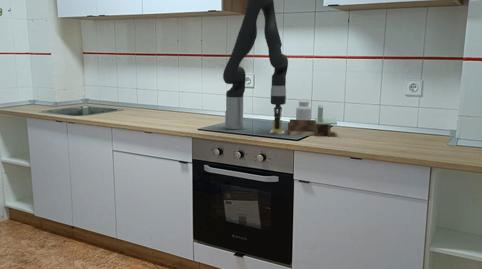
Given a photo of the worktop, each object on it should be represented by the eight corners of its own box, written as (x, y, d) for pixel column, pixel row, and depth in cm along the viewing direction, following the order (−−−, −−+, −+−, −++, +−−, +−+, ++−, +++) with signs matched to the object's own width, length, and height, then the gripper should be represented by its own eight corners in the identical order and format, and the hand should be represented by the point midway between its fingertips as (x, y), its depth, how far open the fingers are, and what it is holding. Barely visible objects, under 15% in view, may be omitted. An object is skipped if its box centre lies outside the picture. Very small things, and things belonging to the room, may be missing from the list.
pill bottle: (299, 127, 252) (300, 100, 250) (312, 128, 248) (313, 101, 246) (293, 129, 246) (294, 101, 243) (307, 130, 242) (308, 102, 239)
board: (268, 136, 223) (268, 122, 222) (270, 131, 236) (270, 118, 235) (330, 138, 219) (330, 124, 218) (328, 134, 232) (329, 120, 231)
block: (281, 132, 226) (281, 121, 225) (272, 132, 227) (272, 121, 226) (282, 130, 231) (282, 120, 230) (273, 130, 231) (273, 119, 230)
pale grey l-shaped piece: (316, 124, 219) (316, 108, 218) (315, 120, 232) (316, 104, 230) (337, 124, 218) (337, 108, 216) (335, 120, 230) (336, 105, 229)
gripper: (285, 96, 218) (284, 130, 221) (286, 93, 232) (285, 125, 235) (269, 95, 219) (268, 130, 222) (271, 93, 233) (270, 125, 236)
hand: (277, 127), depth 228 cm, fingers open, 5 cm apart
